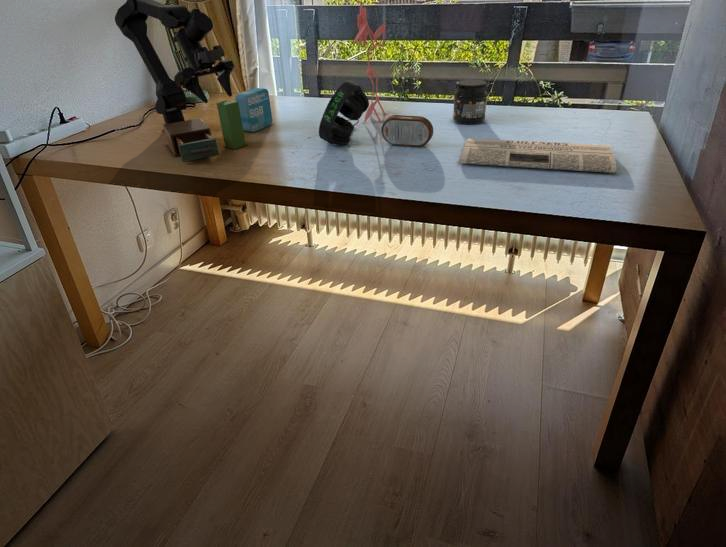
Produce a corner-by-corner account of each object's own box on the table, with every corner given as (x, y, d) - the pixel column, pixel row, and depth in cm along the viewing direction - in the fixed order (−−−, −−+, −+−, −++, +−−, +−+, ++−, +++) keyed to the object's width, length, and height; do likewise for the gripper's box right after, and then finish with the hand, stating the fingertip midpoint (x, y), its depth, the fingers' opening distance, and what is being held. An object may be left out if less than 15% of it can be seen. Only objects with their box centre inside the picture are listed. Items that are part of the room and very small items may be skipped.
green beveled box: (225, 146, 150) (216, 103, 144) (236, 142, 153) (228, 99, 146) (234, 149, 148) (225, 104, 141) (245, 145, 151) (238, 101, 144)
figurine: (391, 108, 181) (389, 0, 162) (378, 128, 159) (375, 6, 141) (350, 108, 184) (344, 1, 165) (333, 127, 162) (323, 8, 144)
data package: (251, 133, 161) (245, 95, 155) (240, 132, 163) (234, 94, 157) (273, 123, 170) (268, 87, 163) (262, 122, 172) (257, 86, 165)
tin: (433, 145, 143) (434, 115, 138) (430, 148, 140) (431, 118, 136) (383, 142, 147) (383, 113, 143) (380, 145, 145) (379, 116, 140)
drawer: (222, 158, 138) (219, 142, 136) (185, 166, 134) (181, 149, 132) (209, 144, 150) (205, 128, 148) (175, 150, 147) (171, 134, 144)
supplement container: (457, 115, 169) (460, 78, 162) (488, 117, 165) (491, 80, 158) (448, 123, 161) (450, 85, 154) (480, 126, 157) (483, 86, 150)
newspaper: (459, 166, 127) (460, 155, 126) (468, 143, 143) (469, 133, 141) (614, 175, 117) (617, 164, 116) (606, 149, 133) (608, 139, 131)
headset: (351, 159, 161) (332, 142, 132) (316, 138, 162) (289, 118, 134) (379, 110, 158) (365, 82, 130) (343, 89, 160) (322, 58, 131)
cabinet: (214, 149, 149) (209, 128, 145) (175, 156, 144) (170, 134, 141) (204, 138, 159) (199, 118, 155) (167, 144, 155) (162, 124, 151)
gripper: (177, 39, 133) (206, 94, 136) (230, 31, 146) (255, 81, 149) (161, 59, 141) (189, 110, 144) (213, 49, 154) (237, 97, 157)
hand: (219, 99), depth 148 cm, fingers open, 9 cm apart
